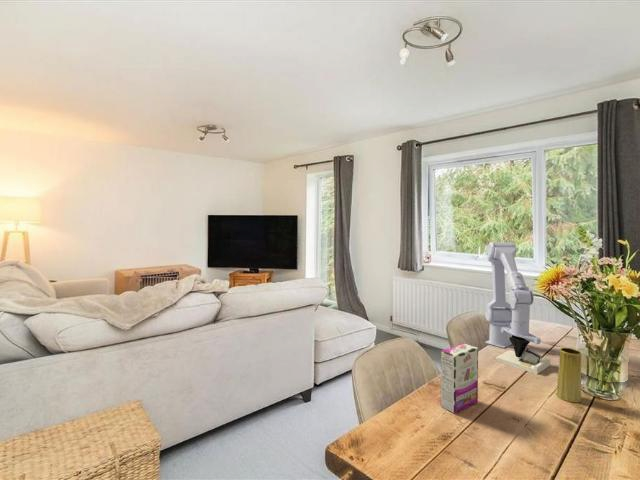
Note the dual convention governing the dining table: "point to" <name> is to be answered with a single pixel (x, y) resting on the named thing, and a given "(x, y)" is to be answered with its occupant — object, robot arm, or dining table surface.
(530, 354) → the clip
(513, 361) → the frame
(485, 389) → the dining table surface
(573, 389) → the vase
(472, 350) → the candy bar box
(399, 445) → the dining table surface
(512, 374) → the dining table surface
